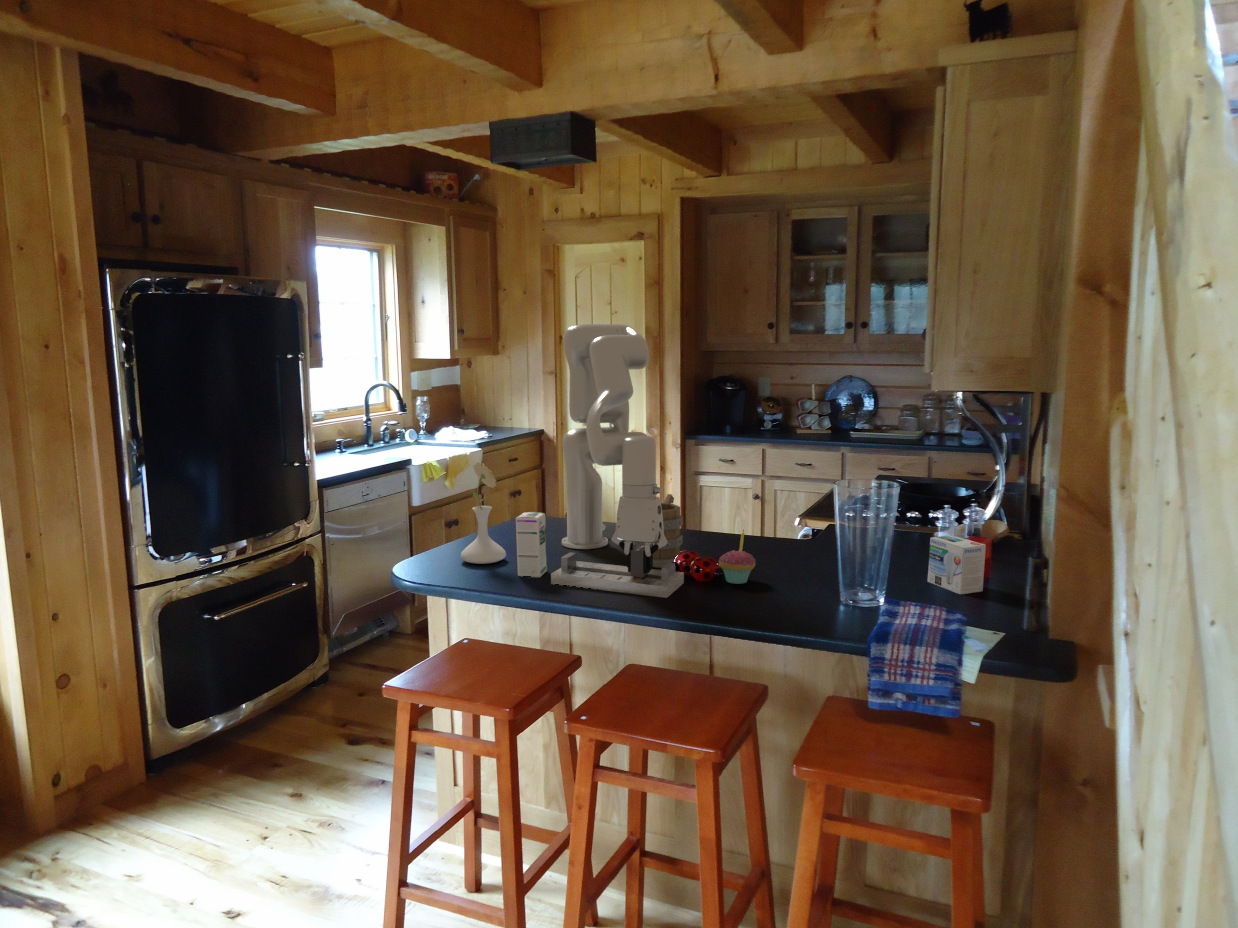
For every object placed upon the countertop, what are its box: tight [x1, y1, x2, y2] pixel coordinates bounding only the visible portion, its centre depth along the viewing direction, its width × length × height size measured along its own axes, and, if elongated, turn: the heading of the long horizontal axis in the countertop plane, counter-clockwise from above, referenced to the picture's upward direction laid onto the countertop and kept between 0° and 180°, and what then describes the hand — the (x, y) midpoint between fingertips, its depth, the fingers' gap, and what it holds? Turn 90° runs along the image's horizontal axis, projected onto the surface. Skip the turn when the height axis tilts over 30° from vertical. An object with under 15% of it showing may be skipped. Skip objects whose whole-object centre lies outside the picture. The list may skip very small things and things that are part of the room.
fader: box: [631, 545, 650, 577], centre depth 198 cm, size 4×3×6 cm
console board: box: [550, 552, 685, 599], centre depth 201 cm, size 12×28×6 cm, turn 68°
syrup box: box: [515, 511, 548, 578], centre depth 208 cm, size 6×6×14 cm
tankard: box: [634, 493, 684, 569], centre depth 223 cm, size 20×13×15 cm, turn 160°
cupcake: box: [718, 529, 756, 585], centre depth 202 cm, size 9×8×12 cm
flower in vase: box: [460, 461, 507, 565], centre depth 219 cm, size 13×11×25 cm
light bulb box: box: [927, 534, 987, 595], centre depth 198 cm, size 11×7×11 cm, turn 23°
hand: (639, 570), depth 198 cm, fingers closed on fader, 3 cm apart
